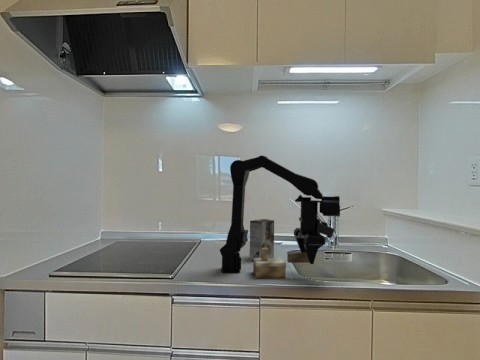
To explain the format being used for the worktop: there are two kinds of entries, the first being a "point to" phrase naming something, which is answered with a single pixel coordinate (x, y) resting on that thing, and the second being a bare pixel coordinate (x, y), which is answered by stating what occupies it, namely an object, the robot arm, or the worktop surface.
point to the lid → (268, 260)
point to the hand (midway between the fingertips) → (308, 261)
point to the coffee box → (261, 237)
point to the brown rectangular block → (297, 258)
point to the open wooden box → (269, 271)
